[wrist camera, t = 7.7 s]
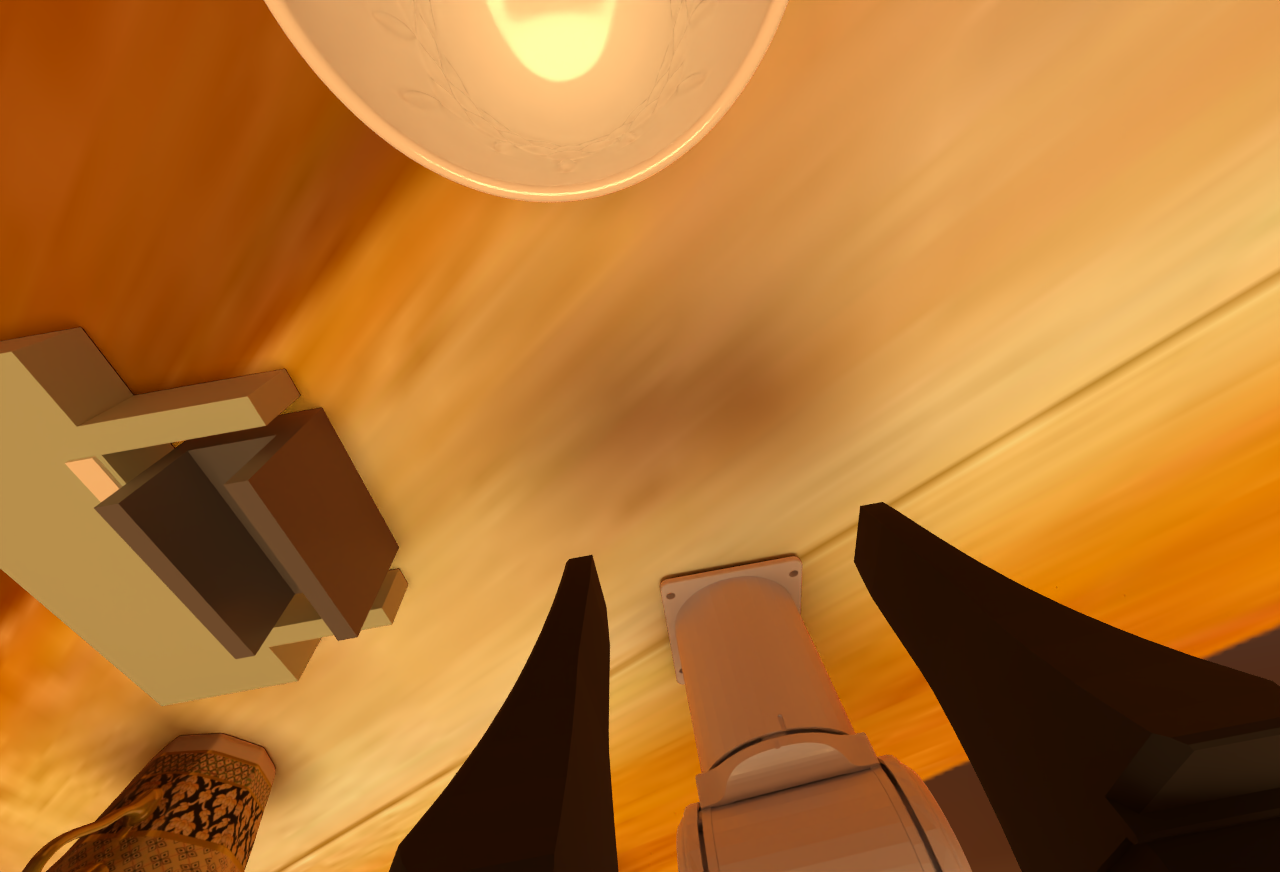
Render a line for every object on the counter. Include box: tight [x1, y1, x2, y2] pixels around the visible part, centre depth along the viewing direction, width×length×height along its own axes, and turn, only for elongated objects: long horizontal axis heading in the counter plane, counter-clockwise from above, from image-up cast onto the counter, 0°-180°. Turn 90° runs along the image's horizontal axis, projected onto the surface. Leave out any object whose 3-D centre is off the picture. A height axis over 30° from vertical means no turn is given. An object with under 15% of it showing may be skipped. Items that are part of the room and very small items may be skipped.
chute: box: [94, 407, 399, 659], centre depth 20 cm, size 8×5×5 cm, turn 8°
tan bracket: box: [0, 327, 408, 706], centre depth 21 cm, size 18×13×3 cm
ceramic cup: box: [22, 733, 276, 872], centre depth 27 cm, size 13×10×10 cm
